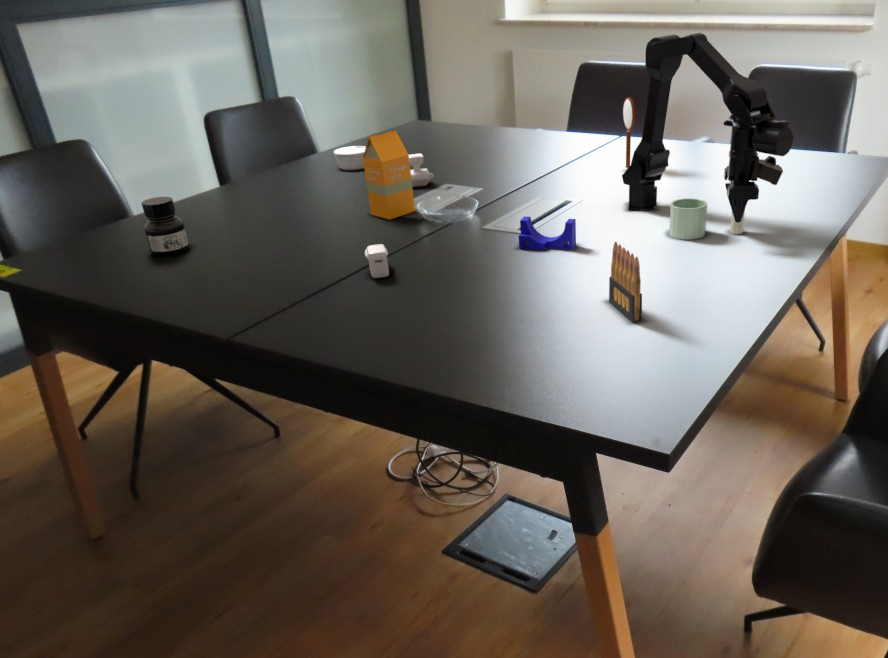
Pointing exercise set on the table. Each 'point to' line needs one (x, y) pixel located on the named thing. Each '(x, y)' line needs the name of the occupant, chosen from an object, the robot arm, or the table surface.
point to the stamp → (419, 171)
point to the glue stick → (736, 225)
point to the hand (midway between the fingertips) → (737, 220)
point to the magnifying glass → (628, 125)
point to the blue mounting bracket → (539, 242)
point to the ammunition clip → (625, 284)
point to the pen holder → (688, 218)
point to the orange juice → (388, 176)
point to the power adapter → (377, 260)
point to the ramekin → (350, 157)
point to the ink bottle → (164, 227)
